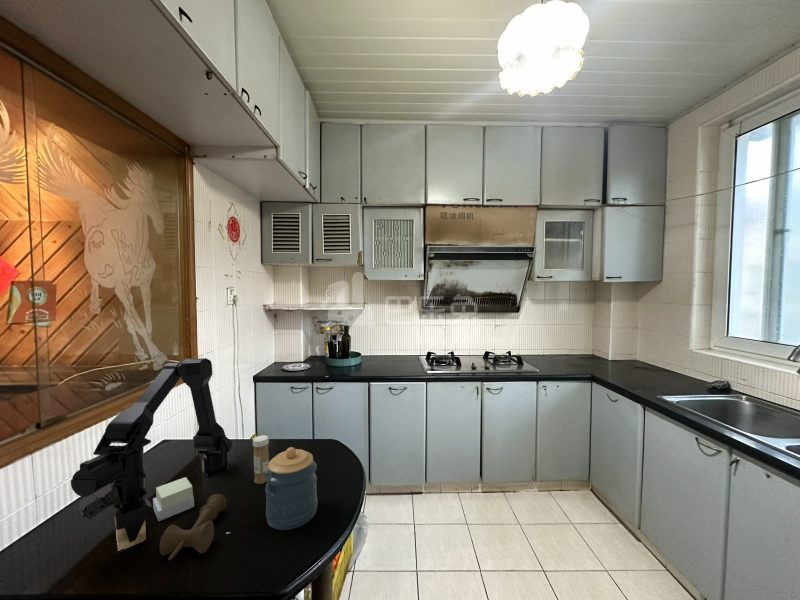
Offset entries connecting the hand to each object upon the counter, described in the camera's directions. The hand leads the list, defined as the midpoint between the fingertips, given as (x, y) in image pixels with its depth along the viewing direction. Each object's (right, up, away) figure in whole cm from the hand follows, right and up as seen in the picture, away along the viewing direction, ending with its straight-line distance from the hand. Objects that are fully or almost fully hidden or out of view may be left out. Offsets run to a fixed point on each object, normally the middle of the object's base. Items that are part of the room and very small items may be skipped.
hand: (131, 535), depth 77 cm
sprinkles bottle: (+21, -1, +24) cm, 32 cm away
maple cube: (0, -1, 0) cm, 1 cm away
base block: (+2, -2, +12) cm, 12 cm away
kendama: (+16, -1, 0) cm, 16 cm away
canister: (+36, -1, +8) cm, 37 cm away
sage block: (+2, +1, +12) cm, 12 cm away
